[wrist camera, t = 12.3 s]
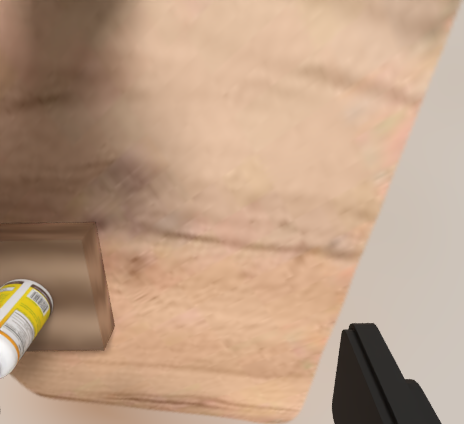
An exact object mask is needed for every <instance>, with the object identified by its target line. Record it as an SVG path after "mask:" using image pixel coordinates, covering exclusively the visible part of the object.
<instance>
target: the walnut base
mask: <svg viewBox="0 0 464 424" xmlns="http://www.w3.org/2000/svg"><path fill="white" fill-rule="evenodd" d="M16 279H26V280H31V281H34V282H36V283H38V284H40V285H41V286H43V287H44V288H45V289H46V290H47V291H48V292H49V294H50V295H51V297H52V301H53V310H52V312H51V314H50V316H49V318H48V319H47V321H46V322H45V324H44V325H43V326H42V328H41V329H40V331H39V332H38V334H37V335H36V337H35V338H34V340H33V341H32V343H31V344H30V346H29V347H28V349H27V350H26V351H87V350H104V349H105V347H106V345H107V342H108V340H109V338H110V336H111V333H112V331H113V329H114V326H115V325H114V319H113V314H112V309H111V303H110V298H109V292H108V287H107V282H106V276H105V271H104V265H103V260H102V254H101V249H100V244H99V238H98V233H97V227H96V222H83V223H16V224H0V288H1V287H2V286H3V285H4V284H6V283H7V282H9V281H12V280H16Z"/></svg>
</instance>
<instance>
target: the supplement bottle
mask: <svg viewBox="0 0 464 424" xmlns="http://www.w3.org/2000/svg"><path fill="white" fill-rule="evenodd" d="M52 310H53V301H52V297H51V295H50V294H49V292H48V291H47V290H46V289H45V288H44V287H43V286H41V285H40V284H38V283H36V282H34V281H31V280H26V279H16V280H12V281H9V282H7V283H6V284H4V285H3V286H2V287H1V288H0V379H1V378H3V377H5V376H7V375H8V374H9V373H10V372H11V371H12V370H13V369H14V368H15V366H16V365H17V363H18V362H19V360H20V359H21V357H22V356H23V354H24V353H25V352H26V350H27V349H28V347H29V346H30V344H31V343H32V341H33V340H34V338H35V337H36V335H37V334H38V332H39V331H40V329H41V328H42V326H43V325H44V324H45V322H46V321H47V319H48V318H49V316H50V314H51V312H52Z"/></svg>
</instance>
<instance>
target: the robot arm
mask: <svg viewBox="0 0 464 424" xmlns="http://www.w3.org/2000/svg"><path fill="white" fill-rule="evenodd" d="M332 413H333V419H334V423H335V424H441V422H440V420H439V419H438V417H437V415H436V413H435V411H434V410H433V408H432V406H431V404H430V402H429V401H428V399H427V397H426V395H425V394H424V392H423V390H422V389H421V387H420V386H419V384H418V383H417V382H416V381H415V380H412V379H404V377H403V375H402V373H401V371H400V369H399V368H398V366H397V364H396V362H395V360H394V358H393V356H392V354H391V352H390V351H389V349H388V347H387V345H386V343H385V341H384V339H383V337H382V335H381V334H380V332H379V330H378V328H377V327H376V325H375V324H374V323H358V324H357V323H352V324H350V326H349V329H348V330H343V331H342V334H341V342H340V349H339V356H338V364H337V372H336V379H335V386H334V394H333V401H332Z"/></svg>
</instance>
